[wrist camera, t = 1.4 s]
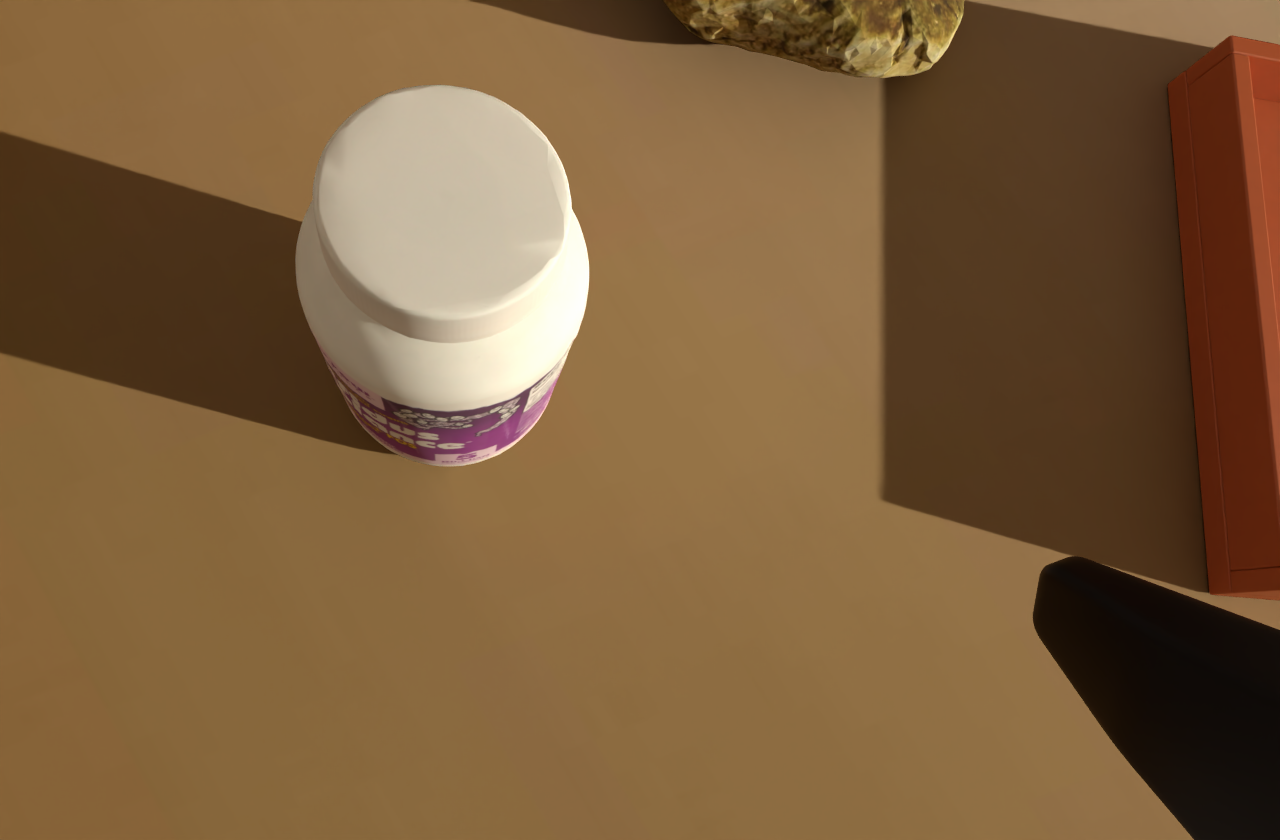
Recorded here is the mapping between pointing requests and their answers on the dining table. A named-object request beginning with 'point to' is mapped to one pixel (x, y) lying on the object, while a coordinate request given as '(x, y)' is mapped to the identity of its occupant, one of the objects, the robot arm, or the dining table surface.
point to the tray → (1233, 302)
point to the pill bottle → (442, 271)
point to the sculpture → (831, 31)
